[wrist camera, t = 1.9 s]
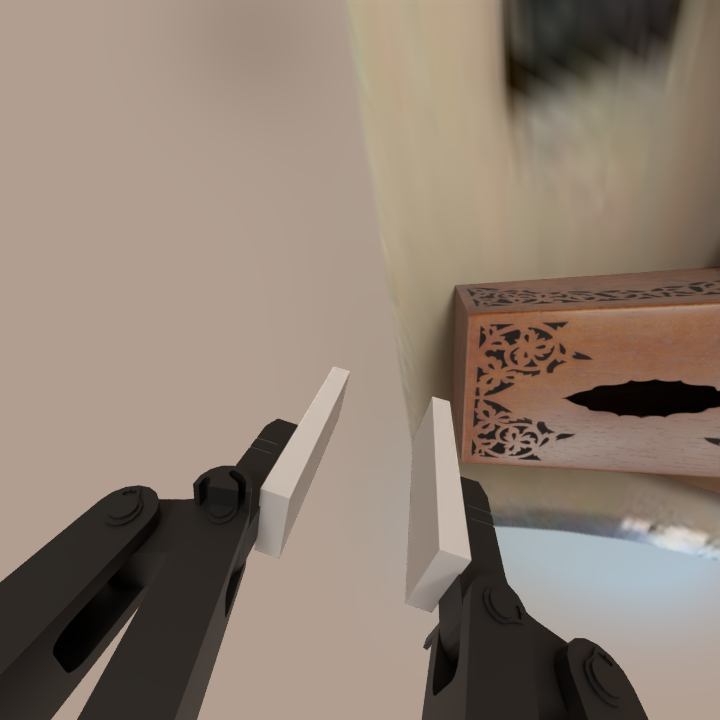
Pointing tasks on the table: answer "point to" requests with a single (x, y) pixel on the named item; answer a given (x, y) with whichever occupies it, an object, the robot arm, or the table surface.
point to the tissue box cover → (591, 372)
